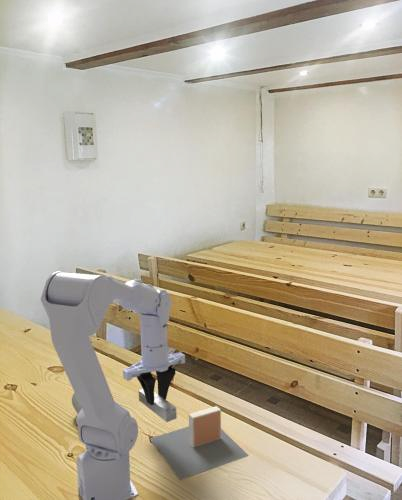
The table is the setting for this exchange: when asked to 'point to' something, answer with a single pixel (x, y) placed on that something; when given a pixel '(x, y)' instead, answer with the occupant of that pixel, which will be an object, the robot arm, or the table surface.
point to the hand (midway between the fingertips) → (156, 400)
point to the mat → (195, 452)
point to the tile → (204, 426)
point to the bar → (159, 406)
